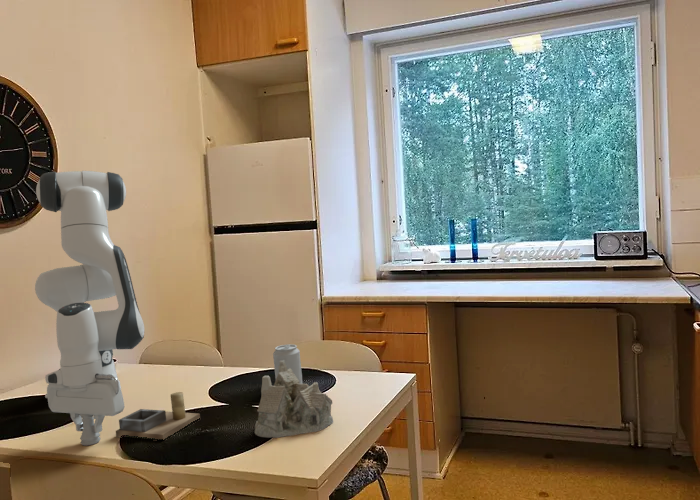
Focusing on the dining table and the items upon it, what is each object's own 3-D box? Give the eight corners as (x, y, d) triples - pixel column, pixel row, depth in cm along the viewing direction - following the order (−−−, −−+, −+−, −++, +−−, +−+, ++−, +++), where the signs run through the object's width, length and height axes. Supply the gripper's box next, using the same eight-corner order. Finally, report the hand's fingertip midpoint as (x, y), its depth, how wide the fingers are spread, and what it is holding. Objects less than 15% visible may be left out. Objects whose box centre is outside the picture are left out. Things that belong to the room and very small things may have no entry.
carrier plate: (116, 437, 148) (112, 406, 147) (155, 416, 161) (152, 388, 160) (163, 441, 143) (160, 409, 142) (200, 419, 155) (197, 390, 155)
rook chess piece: (84, 439, 148) (80, 407, 147) (103, 437, 148) (99, 405, 148) (77, 447, 143) (73, 413, 143) (97, 444, 144) (93, 411, 143)
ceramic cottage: (244, 432, 143) (242, 368, 142) (294, 412, 156) (292, 353, 155) (293, 448, 134) (292, 380, 132) (341, 426, 146) (341, 363, 145)
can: (271, 391, 174) (267, 349, 173) (284, 383, 181) (280, 343, 180) (295, 392, 171) (291, 349, 170) (307, 384, 178) (303, 343, 177)
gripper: (126, 370, 143) (133, 428, 145) (61, 368, 151) (68, 423, 152) (106, 378, 138) (113, 439, 139) (39, 376, 146) (46, 433, 147)
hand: (89, 431), depth 146 cm, fingers closed on rook chess piece, 3 cm apart
